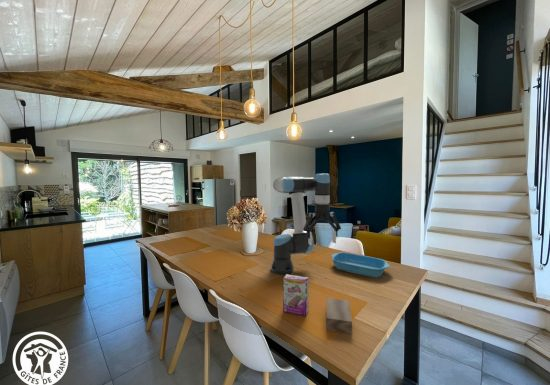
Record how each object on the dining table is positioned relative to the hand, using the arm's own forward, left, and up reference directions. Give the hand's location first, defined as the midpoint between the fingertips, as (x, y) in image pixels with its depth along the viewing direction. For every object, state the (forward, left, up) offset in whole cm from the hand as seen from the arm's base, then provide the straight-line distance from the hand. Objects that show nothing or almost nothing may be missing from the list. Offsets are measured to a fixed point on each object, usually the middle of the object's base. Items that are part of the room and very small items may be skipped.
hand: (322, 243), depth 122 cm
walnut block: (+8, -21, -27) cm, 35 cm away
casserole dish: (+23, +39, -28) cm, 53 cm away
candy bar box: (-11, -19, -28) cm, 35 cm away
